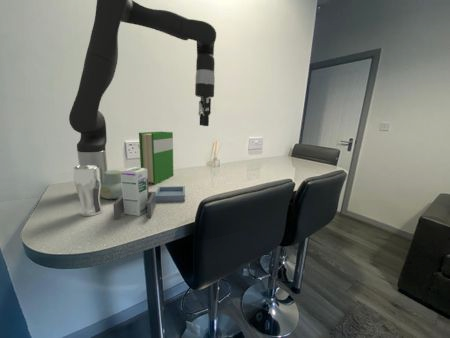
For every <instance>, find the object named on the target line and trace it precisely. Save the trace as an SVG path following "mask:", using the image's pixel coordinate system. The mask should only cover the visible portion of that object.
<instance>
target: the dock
mask: <svg viewBox="0 0 450 338" xmlns="http://www.w3.org/2000/svg"><path fill="white" fill-rule="evenodd" d="M156 205H157V202H156V191H149V200H148V202H147V211H146V213H147V219H150V218H151V219H152V216H153V214H154V213H155V212H154V211H155V209H156ZM112 206H113V215H114V220H119V219H120V218H121V216H122V215H123V213H124V203H123V194H122V195H121V196H120V197H119V198H116V200H115V202H114V203H113V205H112Z"/></svg>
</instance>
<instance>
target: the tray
mask: <svg viewBox="0 0 450 338" xmlns="http://www.w3.org/2000/svg"><path fill="white" fill-rule="evenodd" d="M155 193H156V203H173V202H176V203H177V202H185V201H186V199H185V198H186V186H184V185H183V186H181V185H180V186H177V185H176V186H158V187H157V189H156V191H155Z"/></svg>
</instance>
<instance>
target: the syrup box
mask: <svg viewBox="0 0 450 338" xmlns="http://www.w3.org/2000/svg"><path fill="white" fill-rule="evenodd" d="M120 171H121V183H122V193H123V203H124V212H123V213H124V214H125V215H128V216H129V215H130V216H137V217H141V216H142V215H143V214H144V213H147V202H148V200H149V192H150V190H149V182H148V174H147V169H146V168H141V166H140V167H139V166H138V167H133V166H132V167H129V168H127V169H124V170H120Z"/></svg>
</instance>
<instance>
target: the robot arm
mask: <svg viewBox="0 0 450 338" xmlns="http://www.w3.org/2000/svg"><path fill="white" fill-rule="evenodd" d="M95 5H96V6H95V16H94V20H93V26H92V30H91V34H90V39H89V43H88V47H87V50H86V53H85V58H84V62H83V67H82V72H81V78H80V81H79V85H78V89H77V94H76V96H75V98H74V101H73V104H72V106H71V109H70V112H69V116H68V117H69V118H68V121H69V124H70V126H71V127H70V128H72V130H74V131H75V132H77V133H79V134H80V138H79V141H78V142H77V143H76V151H77V157H78V158H77V159H78V166H82V165H98V166H99V169H100V174H101V184H103V183H104V172H106V171H109V170H108V162H107V161H108V160H107V151H106V145H107V124H106V119H105V116H104V115H103V113H102V112H101V111H99V107H100V103H101V101H102V98H103V95H104V94H105V92H106V91H107V90H108V88H109V86H110V85H111V84H112V81H113V79H114V77H115V75H116V74H115V73H116V69H117V65H118V59H119V41H118V37H119V30H120V25H121V22H122V23H126V24H133V25H137V26H140V27H145V28H148V29H152V30H156V31H158V32H161V33H164V34H166V35H169V36H171V37H175V38H177V39H179V40H181V41H188V40H192V41H195V42H196V56H197V57H196V64H195V66H196V67H195V68H196V69H195V79H194V80H195V83H194V84H195V85H194V86H195V93H194V94H195V97H199V98H200V100H199V101H198V116H199V126H203V127H209V121H210V120H209V119H210V116H211V113H212V111H211V107H212V105H211V104H212V98H214V97H215V82H216V81H215V57H214V56H215V55H214V53H215V52H214V51H215V42H216V40H217V30H216V29H215V27H214V26H213V25H212V24H210V23H208V22H206V21H204V20H199V19H198V20H197V19H191V18H187V17H185V16H183V15H180V14H178V13H176V12H173V11H169V10H165V9H155V8H149V7H146V6H144V5H142V4H140V3H138V2H136V1H135V0H96V4H95Z"/></svg>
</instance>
